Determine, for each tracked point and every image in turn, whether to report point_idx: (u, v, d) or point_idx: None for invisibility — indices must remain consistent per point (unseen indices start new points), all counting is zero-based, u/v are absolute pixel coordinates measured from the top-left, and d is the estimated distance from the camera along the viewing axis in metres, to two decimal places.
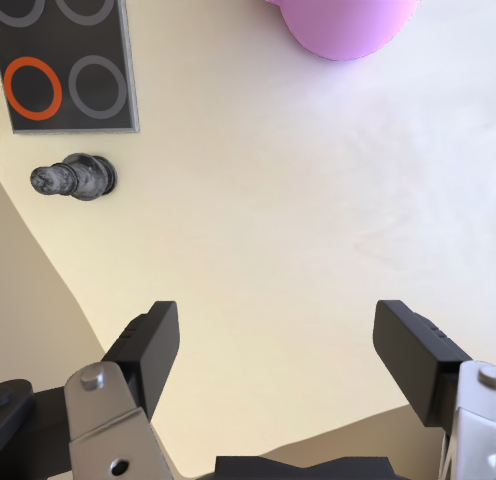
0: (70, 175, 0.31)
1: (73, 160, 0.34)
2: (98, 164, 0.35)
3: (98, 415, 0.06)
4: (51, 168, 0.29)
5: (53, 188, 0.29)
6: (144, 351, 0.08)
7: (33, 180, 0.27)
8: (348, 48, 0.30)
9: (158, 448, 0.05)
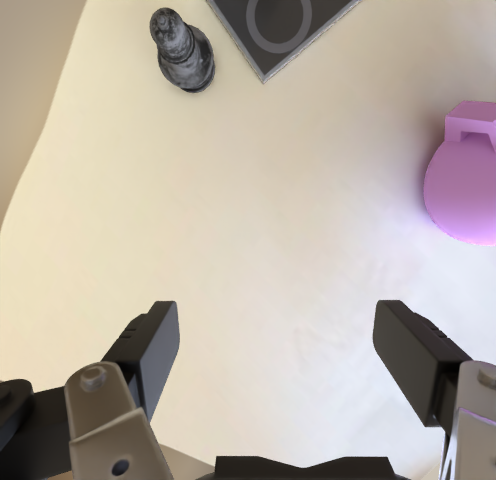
0: (187, 49, 0.25)
1: (196, 36, 0.29)
2: (210, 66, 0.30)
3: (98, 415, 0.06)
4: (184, 27, 0.23)
5: (166, 43, 0.23)
6: (144, 351, 0.08)
7: (162, 17, 0.22)
8: (447, 220, 0.33)
9: (158, 448, 0.05)
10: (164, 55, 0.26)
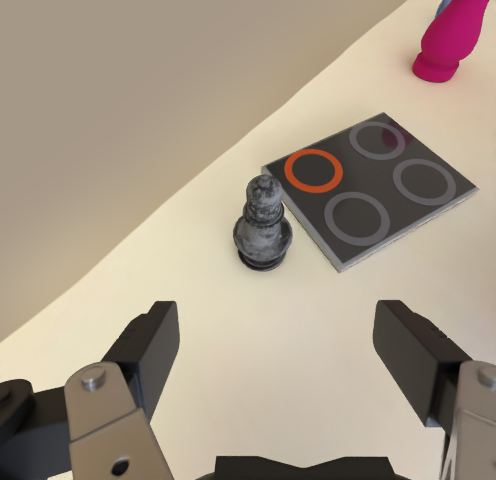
0: (276, 215, 0.23)
1: None
2: (288, 243, 0.27)
3: (98, 415, 0.06)
4: None
5: (262, 199, 0.21)
6: (144, 351, 0.08)
7: (266, 175, 0.21)
8: None
9: (158, 448, 0.05)
10: (249, 218, 0.24)
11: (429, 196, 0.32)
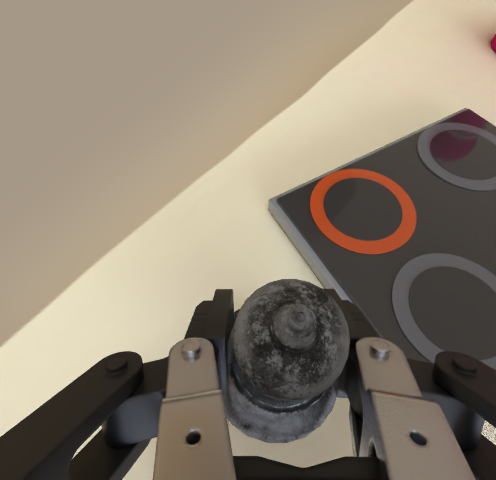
0: None
1: None
2: (333, 394, 0.12)
3: (189, 384, 0.07)
4: None
5: (289, 390, 0.06)
6: (225, 330, 0.09)
7: (307, 314, 0.05)
8: None
9: (227, 434, 0.05)
10: (243, 382, 0.09)
11: None
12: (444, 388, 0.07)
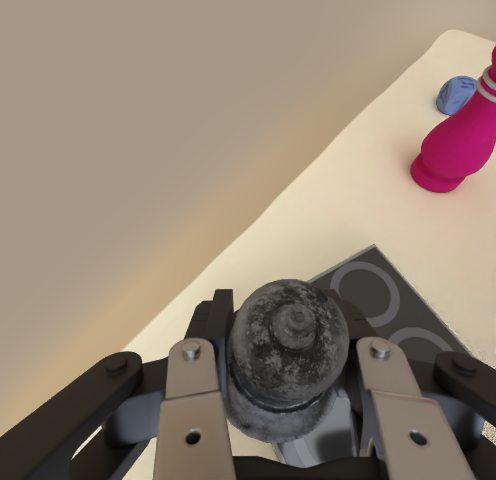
0: None
1: None
2: (333, 395, 0.12)
3: (188, 384, 0.07)
4: None
5: (288, 391, 0.06)
6: (225, 330, 0.09)
7: (306, 314, 0.05)
8: None
9: (227, 434, 0.05)
10: (242, 382, 0.09)
11: None
12: (444, 388, 0.07)
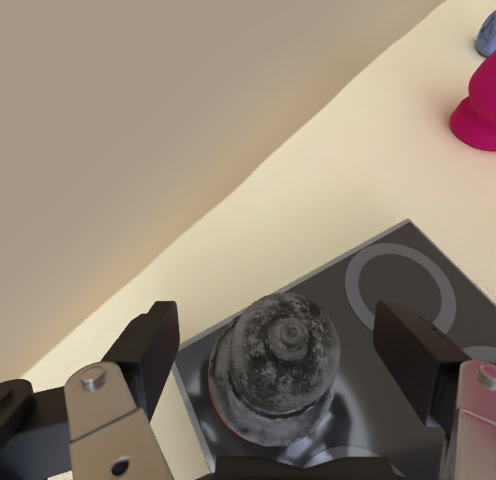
0: None
1: None
2: (328, 399, 0.12)
3: (98, 415, 0.06)
4: None
5: (282, 400, 0.06)
6: (144, 351, 0.08)
7: (299, 329, 0.06)
8: None
9: (158, 448, 0.05)
10: (240, 389, 0.09)
11: None
12: None
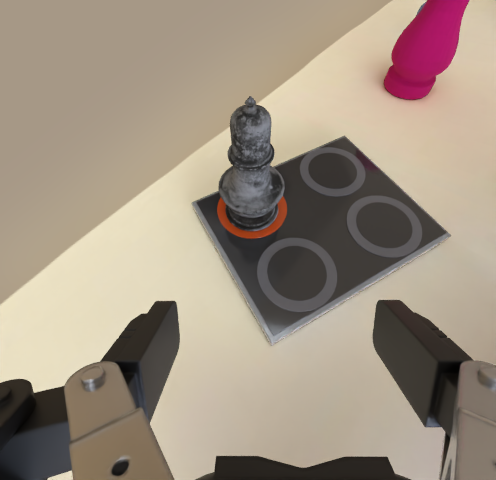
0: (264, 155, 0.21)
1: None
2: (279, 195, 0.24)
3: (98, 415, 0.06)
4: (270, 125, 0.20)
5: (248, 128, 0.18)
6: (144, 351, 0.08)
7: (252, 99, 0.18)
8: None
9: (158, 448, 0.05)
10: (234, 159, 0.21)
11: (388, 245, 0.26)
12: None
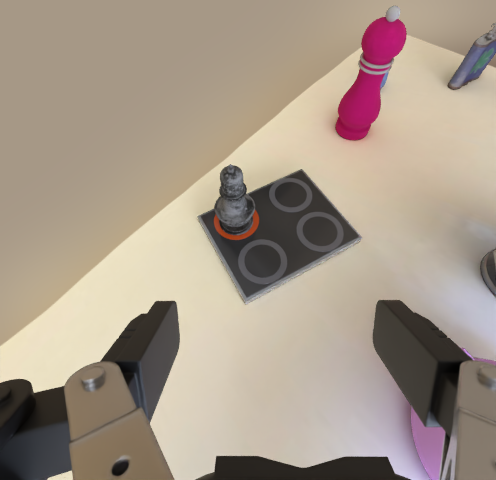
0: (240, 192, 0.36)
1: (245, 197, 0.41)
2: (251, 213, 0.40)
3: (98, 415, 0.06)
4: (242, 176, 0.35)
5: (229, 180, 0.34)
6: (144, 351, 0.08)
7: (231, 165, 0.33)
8: None
9: (158, 448, 0.05)
10: (223, 194, 0.36)
11: (321, 244, 0.41)
12: None
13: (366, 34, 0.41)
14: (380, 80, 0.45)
